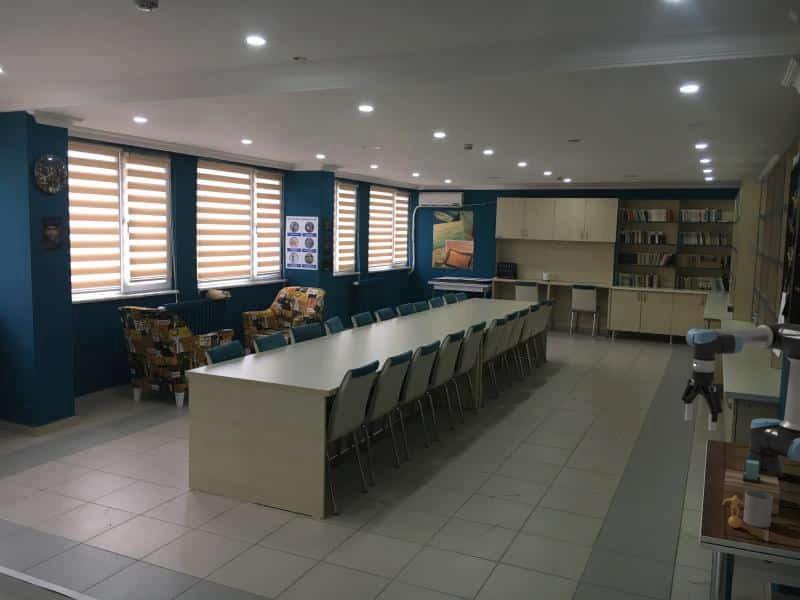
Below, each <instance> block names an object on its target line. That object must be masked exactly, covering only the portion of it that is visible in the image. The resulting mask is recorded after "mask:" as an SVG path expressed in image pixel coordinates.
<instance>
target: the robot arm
mask: <svg viewBox="0 0 800 600" xmlns="http://www.w3.org/2000/svg"><path fill="white" fill-rule="evenodd" d="M685 341H686V343H687V345H689V346H691V347H693V356H692V357H693V360H692V369H693V370H692V373H691V376H692V377H691V379H690V378H689V379H688V380H687V384H686V387H685V389H684V392H683V394H682V396H681V400H682V401H683V403H684V404H685V405H684V412H685V413H684V420H685V421H693V414H694V413H693V412H694V411H693V409H694V404H693V401H694V400H695V399H696V398H697V396H698V395H701V396H702V397H703V398H704V399H705V402H706V404H707V406H708V408H709V411H710V412H709V415H708V429H707V430H708V431H710V432H711V431H717V423H718V419H719V418H718V415H719V414H723V407H722V403H721V399H720V396H719V392H718V391H719V390H718V389H719V388H718V386H712V383H713V382H714V380H715V372H714V371H715V367H716V356H717V355H733V354H734V355H735V354H739V353H741V351H742V350H744V349H743V348H744V347H760V348H762V349H774V350H778V351H780V352H781V351H782V352H785V353H787V354H786V358H787V360H788V361H789V362H790V366H789V374H788V375H789V376H788V383H787V393H786V401H785V411H784V416H783V417H784V418H783V419H784V420H781V419H775V418H768V417H767V418H766V417H765V418H754V419H753V420H751V423H750V427H749V444H748V453H747V455H746V457H745V460H744V462H743V464H742V471H743V472H746V465H747V460H753V461H759V471H758V474H759V475H765V476H771V477H777V478H778V479H780V478H782V477H783V476H784V468H783V466H782V461H781V456H782V457H784V458H787V459H789V460H791V461H794V462H795V461H796V462H800V324H794V323H784V322H783V323H770V324H761V325H758V326H757V327H740V328H739V327H736V328H735V327H734V328H713V329H708V328H707V329H705V328H702V329H701V328H695V327H694V328H691V329H689V330H688V331H687V332H686V335H685Z"/></svg>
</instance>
